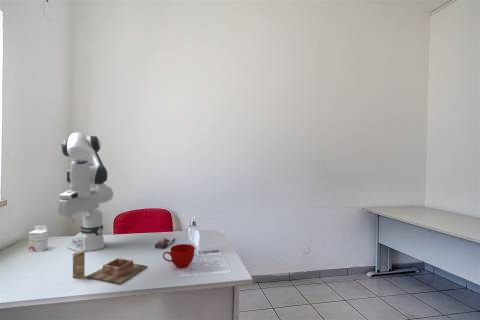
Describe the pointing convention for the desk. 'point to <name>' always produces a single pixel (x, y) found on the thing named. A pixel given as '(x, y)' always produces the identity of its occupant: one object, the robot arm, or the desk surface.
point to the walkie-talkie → (163, 243)
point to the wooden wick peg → (78, 264)
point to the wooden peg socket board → (117, 271)
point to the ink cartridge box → (38, 238)
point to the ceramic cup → (181, 255)
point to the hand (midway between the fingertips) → (80, 220)
